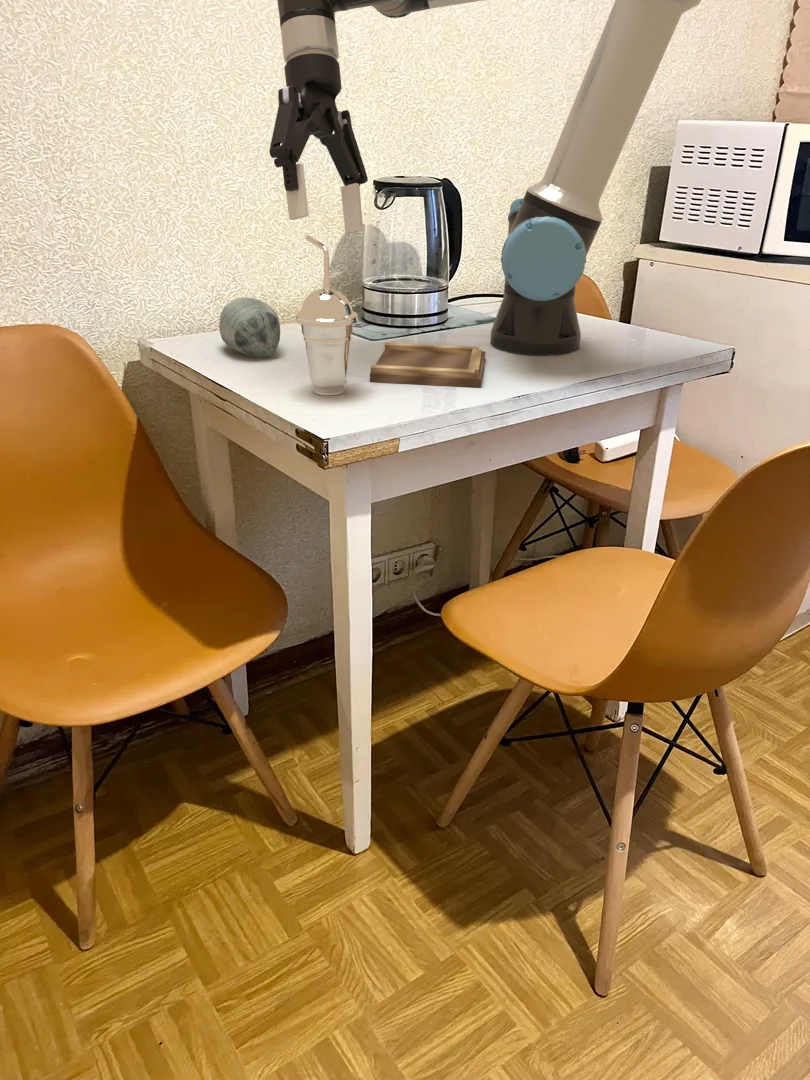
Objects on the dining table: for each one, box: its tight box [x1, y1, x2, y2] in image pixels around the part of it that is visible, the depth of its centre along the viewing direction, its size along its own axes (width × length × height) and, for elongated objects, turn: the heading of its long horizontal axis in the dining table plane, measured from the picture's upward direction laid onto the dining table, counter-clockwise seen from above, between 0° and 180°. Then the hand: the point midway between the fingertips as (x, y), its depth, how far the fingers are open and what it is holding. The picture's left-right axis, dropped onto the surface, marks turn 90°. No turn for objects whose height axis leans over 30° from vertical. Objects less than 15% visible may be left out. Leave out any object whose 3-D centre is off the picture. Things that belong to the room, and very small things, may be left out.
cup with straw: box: [294, 234, 359, 396], centre depth 110 cm, size 8×9×20 cm
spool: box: [218, 296, 281, 359], centre depth 132 cm, size 14×10×10 cm
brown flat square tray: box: [369, 342, 486, 389], centre depth 124 cm, size 16×16×2 cm
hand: (328, 225), depth 115 cm, fingers open, 13 cm apart
